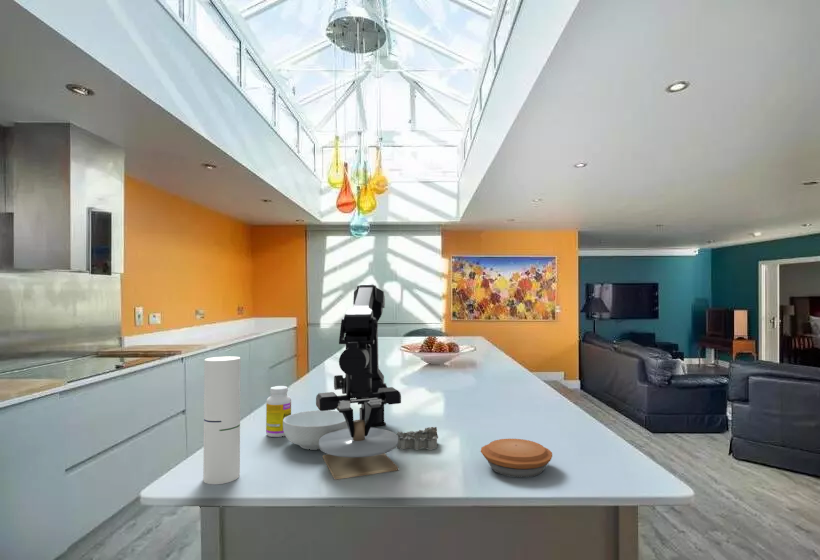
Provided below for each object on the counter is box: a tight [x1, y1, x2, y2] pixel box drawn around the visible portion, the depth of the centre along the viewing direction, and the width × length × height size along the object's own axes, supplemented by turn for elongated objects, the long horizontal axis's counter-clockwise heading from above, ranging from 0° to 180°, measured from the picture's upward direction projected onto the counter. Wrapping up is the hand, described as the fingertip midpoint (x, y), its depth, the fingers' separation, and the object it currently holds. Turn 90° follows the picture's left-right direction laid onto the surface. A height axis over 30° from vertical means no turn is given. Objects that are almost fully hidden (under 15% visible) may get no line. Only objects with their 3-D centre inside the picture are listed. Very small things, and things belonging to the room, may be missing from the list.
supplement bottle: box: [265, 385, 292, 438], centre depth 128 cm, size 7×7×13 cm
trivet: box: [322, 453, 399, 480], centre depth 105 cm, size 14×14×1 cm
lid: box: [318, 419, 398, 457], centre depth 106 cm, size 18×18×5 cm
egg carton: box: [395, 426, 439, 451], centre depth 118 cm, size 11×8×4 cm
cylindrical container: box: [202, 355, 241, 485], centre depth 98 cm, size 7×7×25 cm
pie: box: [480, 438, 553, 478], centre depth 103 cm, size 15×16×5 cm
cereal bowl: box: [283, 409, 348, 451], centre depth 119 cm, size 17×17×7 cm
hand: (359, 436), depth 106 cm, fingers closed on lid, 3 cm apart
